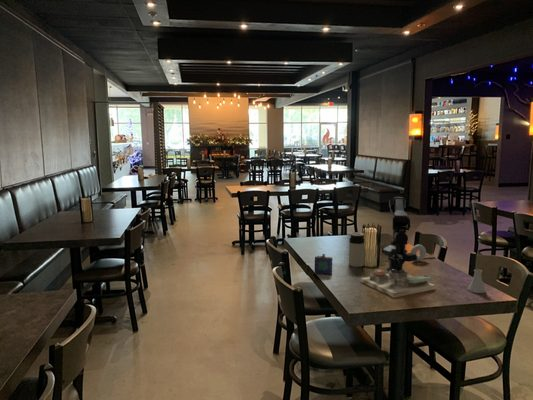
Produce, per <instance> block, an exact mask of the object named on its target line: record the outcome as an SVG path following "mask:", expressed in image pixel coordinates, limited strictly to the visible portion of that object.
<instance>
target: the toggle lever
mask: <svg viewBox="0 0 533 400" xmlns="http://www.w3.org/2000/svg"><path fill="white" fill-rule="evenodd" d="M391 272H392V274H393V278H394V282H395V284H397V279H396V275H395V270H394V269H391Z"/></svg>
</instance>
